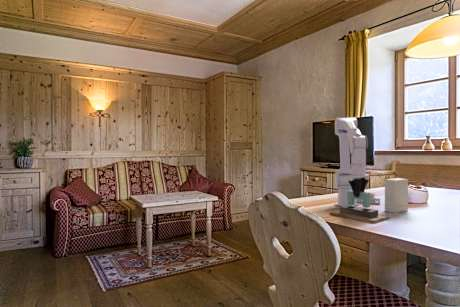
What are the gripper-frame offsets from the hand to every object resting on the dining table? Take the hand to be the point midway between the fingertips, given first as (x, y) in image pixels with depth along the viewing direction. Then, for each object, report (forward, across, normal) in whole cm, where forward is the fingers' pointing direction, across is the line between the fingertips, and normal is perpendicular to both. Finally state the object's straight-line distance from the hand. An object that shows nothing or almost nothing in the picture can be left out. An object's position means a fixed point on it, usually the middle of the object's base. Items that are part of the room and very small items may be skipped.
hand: (358, 196), depth 132 cm
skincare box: (+9, +23, -5) cm, 25 cm away
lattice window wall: (+9, +31, +13) cm, 35 cm away
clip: (+4, 0, 0) cm, 4 cm away
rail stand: (+9, 0, 0) cm, 9 cm away
